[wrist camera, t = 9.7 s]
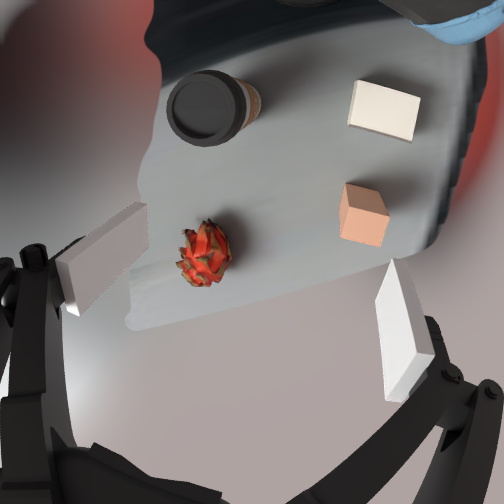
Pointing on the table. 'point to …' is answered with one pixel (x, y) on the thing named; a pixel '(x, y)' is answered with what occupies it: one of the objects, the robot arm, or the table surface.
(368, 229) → the salmon orange rectangular block
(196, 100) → the coffee cup
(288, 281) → the table surface
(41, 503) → the robot arm
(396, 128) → the cream white block
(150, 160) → the table surface
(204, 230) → the dragon fruit
